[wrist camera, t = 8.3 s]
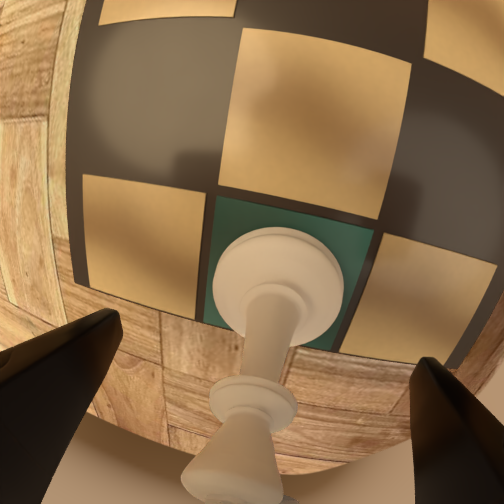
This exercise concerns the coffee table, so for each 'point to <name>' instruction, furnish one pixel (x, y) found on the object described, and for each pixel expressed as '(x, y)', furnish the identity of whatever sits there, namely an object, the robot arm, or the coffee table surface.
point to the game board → (295, 157)
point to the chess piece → (262, 357)
